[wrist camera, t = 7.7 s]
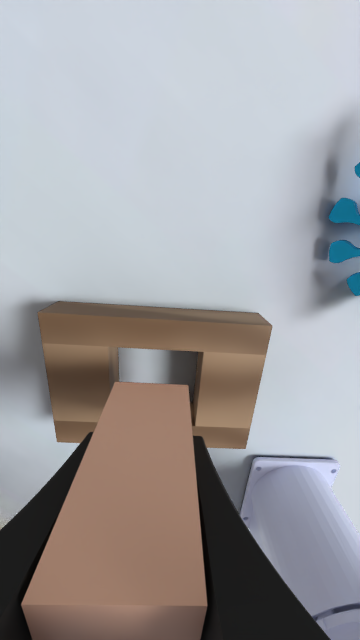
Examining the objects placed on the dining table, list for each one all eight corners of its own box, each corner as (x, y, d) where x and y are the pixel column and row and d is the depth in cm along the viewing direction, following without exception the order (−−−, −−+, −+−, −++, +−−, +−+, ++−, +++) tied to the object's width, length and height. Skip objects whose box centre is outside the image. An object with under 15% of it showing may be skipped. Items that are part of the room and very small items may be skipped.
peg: (182, 440, 14) (192, 679, 6) (117, 437, 14) (45, 681, 6) (188, 385, 13) (207, 606, 5) (115, 381, 12) (20, 604, 5)
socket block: (237, 423, 20) (245, 448, 17) (71, 416, 19) (57, 442, 17) (258, 313, 16) (272, 325, 14) (58, 301, 16) (37, 312, 13)
